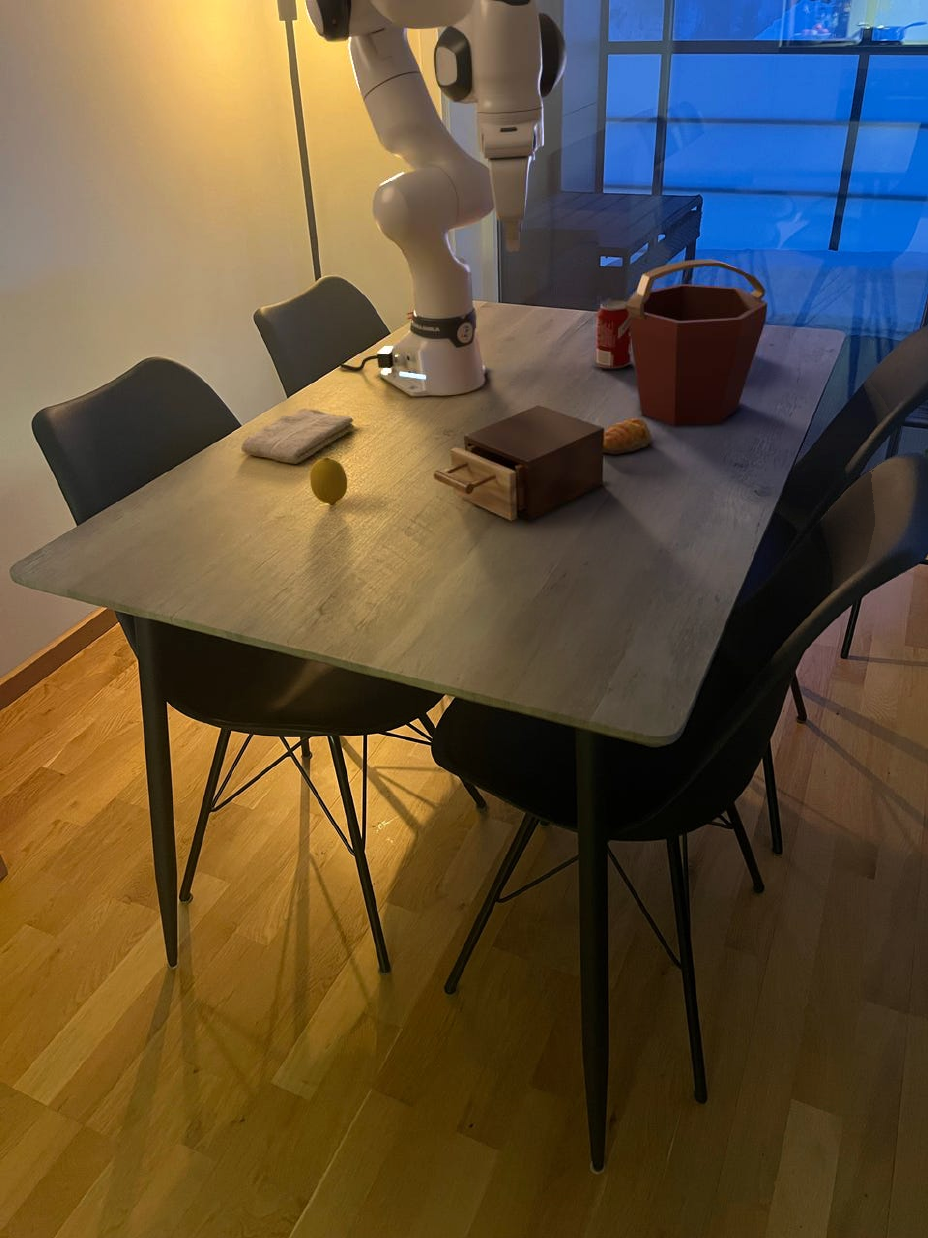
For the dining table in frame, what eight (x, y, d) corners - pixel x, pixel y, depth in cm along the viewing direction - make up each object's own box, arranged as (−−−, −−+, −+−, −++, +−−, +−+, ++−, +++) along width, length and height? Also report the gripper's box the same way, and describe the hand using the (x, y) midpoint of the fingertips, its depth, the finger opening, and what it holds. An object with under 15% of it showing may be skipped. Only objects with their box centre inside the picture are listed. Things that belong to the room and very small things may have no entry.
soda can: (608, 373, 185) (610, 311, 178) (589, 364, 190) (590, 303, 183) (636, 366, 187) (639, 305, 180) (617, 357, 192) (619, 297, 185)
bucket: (625, 434, 160) (632, 284, 146) (608, 387, 178) (612, 250, 164) (770, 426, 160) (791, 274, 145) (738, 380, 178) (753, 241, 164)
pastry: (615, 461, 152) (616, 438, 150) (585, 449, 156) (586, 427, 154) (654, 443, 156) (656, 421, 154) (624, 432, 161) (625, 411, 159)
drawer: (481, 535, 132) (478, 488, 128) (424, 507, 140) (420, 461, 136) (580, 487, 143) (581, 441, 139) (522, 463, 151) (521, 419, 147)
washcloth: (358, 428, 169) (356, 412, 167) (296, 468, 156) (293, 451, 155) (305, 418, 174) (302, 402, 173) (241, 457, 162) (238, 440, 160)
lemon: (356, 499, 146) (350, 451, 141) (338, 515, 142) (331, 467, 137) (326, 494, 148) (319, 447, 143) (307, 510, 144) (299, 462, 139)
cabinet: (529, 520, 137) (528, 461, 132) (467, 491, 146) (463, 435, 141) (602, 484, 145) (604, 427, 140) (539, 458, 154) (538, 404, 149)
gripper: (491, 125, 134) (496, 228, 142) (482, 145, 117) (488, 260, 125) (535, 122, 134) (538, 225, 141) (532, 142, 117) (535, 258, 124)
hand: (514, 242), depth 133 cm, fingers open, 8 cm apart
